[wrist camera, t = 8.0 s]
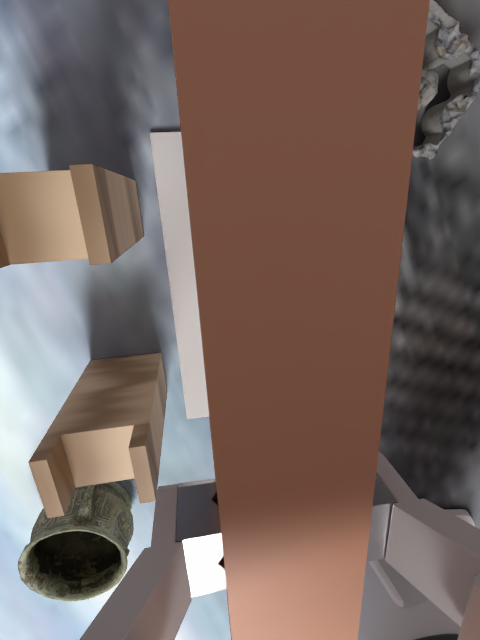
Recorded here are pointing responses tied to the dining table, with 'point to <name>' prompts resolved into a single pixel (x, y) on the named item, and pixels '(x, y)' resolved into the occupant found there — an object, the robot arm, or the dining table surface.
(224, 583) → the robot arm
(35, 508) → the dining table surface
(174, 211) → the mat
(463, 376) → the dining table surface
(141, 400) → the post far
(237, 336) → the rail
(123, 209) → the post near
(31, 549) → the vessel
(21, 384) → the dining table surface
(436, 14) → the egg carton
